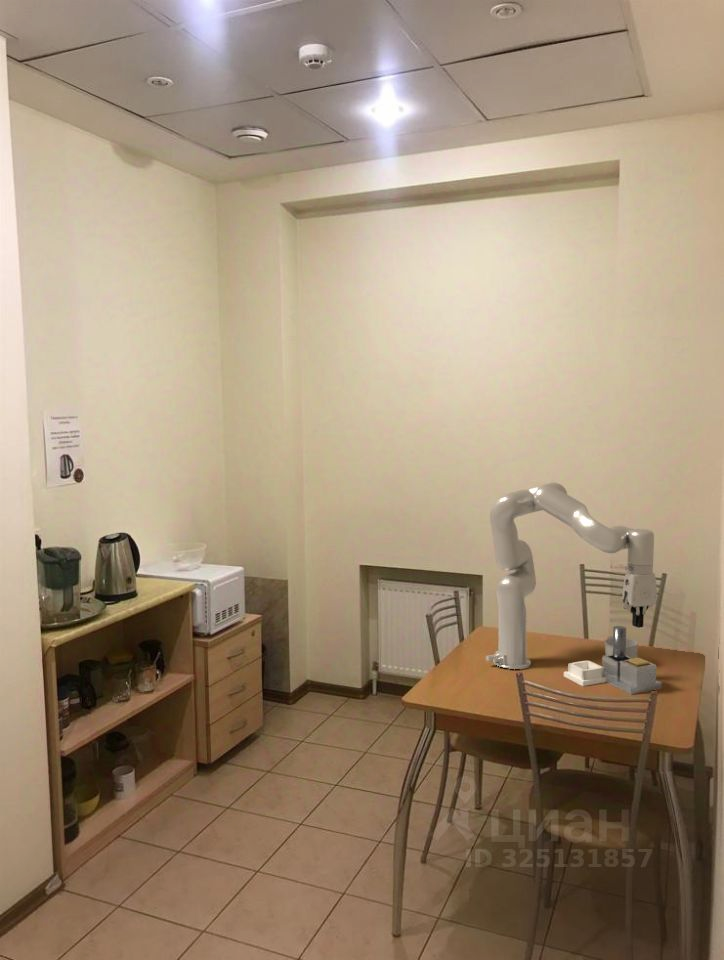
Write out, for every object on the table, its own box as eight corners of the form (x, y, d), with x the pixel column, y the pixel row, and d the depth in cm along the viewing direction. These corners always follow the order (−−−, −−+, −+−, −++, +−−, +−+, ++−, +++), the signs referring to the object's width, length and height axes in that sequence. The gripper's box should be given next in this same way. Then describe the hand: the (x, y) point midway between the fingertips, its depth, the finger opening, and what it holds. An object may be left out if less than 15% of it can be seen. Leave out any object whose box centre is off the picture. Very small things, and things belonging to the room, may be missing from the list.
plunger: (637, 682, 242) (637, 663, 241) (627, 677, 246) (627, 659, 245) (648, 680, 243) (648, 661, 243) (638, 675, 247) (638, 657, 247)
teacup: (642, 668, 262) (642, 645, 261) (610, 669, 262) (610, 646, 261) (627, 655, 276) (628, 633, 275) (597, 656, 276) (597, 634, 275)
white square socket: (582, 686, 246) (583, 672, 246) (563, 676, 256) (563, 662, 255) (608, 681, 250) (608, 668, 250) (588, 672, 259) (588, 658, 259)
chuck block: (630, 694, 239) (631, 669, 238) (594, 676, 255) (594, 652, 254) (661, 688, 243) (662, 664, 242) (623, 671, 259) (624, 648, 259)
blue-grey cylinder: (618, 675, 250) (618, 630, 249) (609, 671, 254) (610, 626, 252) (628, 673, 252) (628, 628, 250) (619, 669, 255) (620, 625, 254)
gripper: (629, 573, 235) (626, 632, 237) (667, 569, 240) (665, 627, 242) (612, 568, 242) (610, 625, 244) (650, 564, 247) (648, 620, 249)
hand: (637, 626), depth 243 cm, fingers closed
